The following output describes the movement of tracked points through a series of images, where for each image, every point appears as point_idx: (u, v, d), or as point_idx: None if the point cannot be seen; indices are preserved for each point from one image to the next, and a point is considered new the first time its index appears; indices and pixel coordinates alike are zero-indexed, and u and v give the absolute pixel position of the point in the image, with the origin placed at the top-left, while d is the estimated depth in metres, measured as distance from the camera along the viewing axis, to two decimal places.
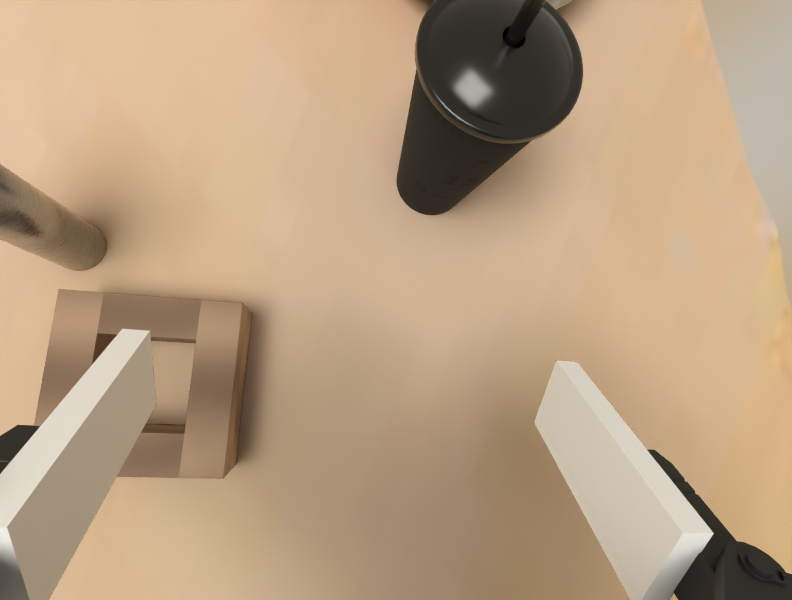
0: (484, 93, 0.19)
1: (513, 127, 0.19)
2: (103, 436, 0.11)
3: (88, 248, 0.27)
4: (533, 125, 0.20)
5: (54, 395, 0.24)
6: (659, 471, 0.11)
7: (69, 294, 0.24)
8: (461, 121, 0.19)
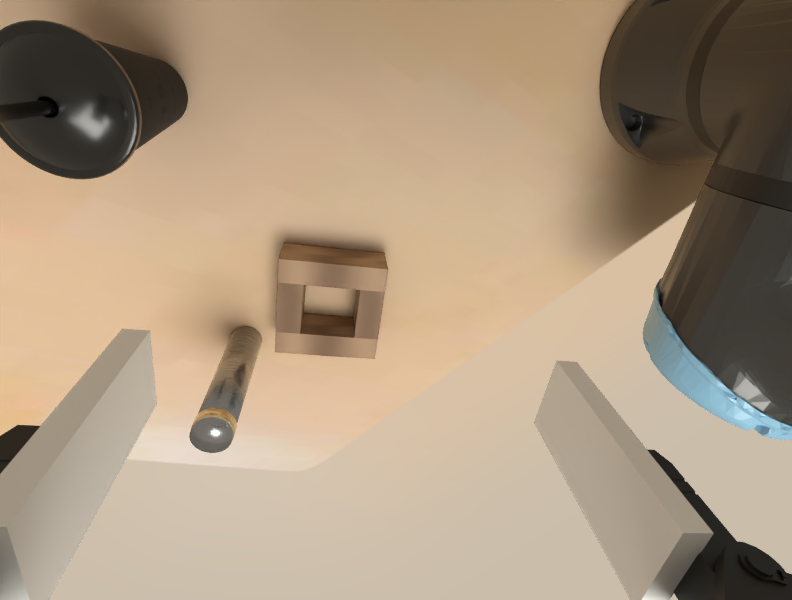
0: (105, 133, 0.24)
1: (127, 105, 0.24)
2: (103, 436, 0.11)
3: (248, 337, 0.44)
4: (120, 86, 0.24)
5: (334, 350, 0.44)
6: (659, 471, 0.11)
7: (277, 347, 0.43)
8: (131, 148, 0.25)
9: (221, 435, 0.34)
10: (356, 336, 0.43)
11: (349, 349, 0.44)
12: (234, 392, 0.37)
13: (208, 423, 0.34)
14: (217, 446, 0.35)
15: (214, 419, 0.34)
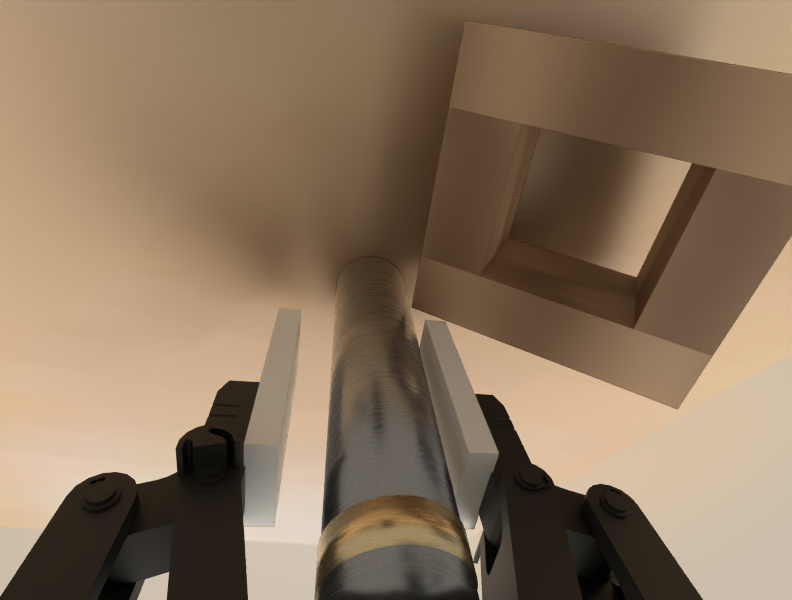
0: None
1: None
2: (290, 391, 0.14)
3: (389, 278, 0.18)
4: None
5: (562, 347, 0.15)
6: (475, 407, 0.13)
7: (419, 297, 0.17)
8: None
9: None
10: (642, 327, 0.14)
11: (606, 358, 0.15)
12: (428, 426, 0.11)
13: (404, 578, 0.08)
14: None
15: (424, 556, 0.08)
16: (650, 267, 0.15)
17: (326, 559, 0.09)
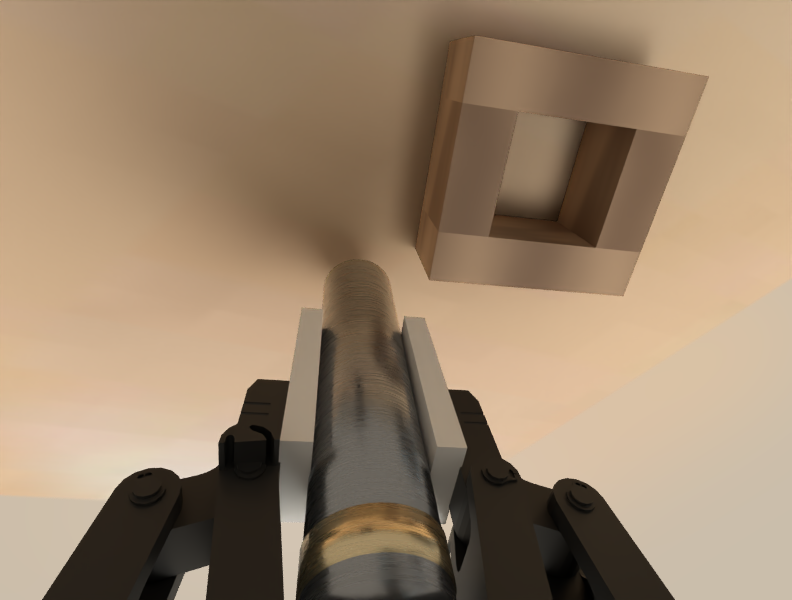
0: None
1: None
2: None
3: (377, 282, 0.18)
4: None
5: (550, 275, 0.21)
6: (447, 402, 0.13)
7: (437, 268, 0.20)
8: None
9: None
10: (601, 244, 0.20)
11: (580, 274, 0.21)
12: (412, 433, 0.11)
13: (387, 585, 0.08)
14: None
15: (406, 564, 0.08)
16: (580, 207, 0.22)
17: (308, 564, 0.09)
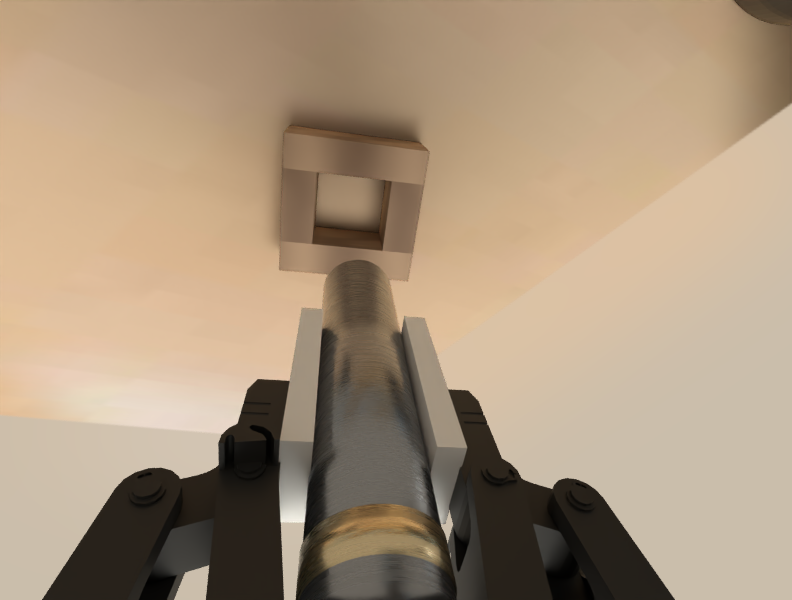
0: None
1: None
2: None
3: (377, 282, 0.18)
4: None
5: None
6: (447, 401, 0.13)
7: (282, 263, 0.33)
8: None
9: None
10: (385, 248, 0.33)
11: None
12: (412, 434, 0.11)
13: (387, 587, 0.08)
14: None
15: (406, 565, 0.08)
16: (382, 225, 0.35)
17: (308, 566, 0.09)
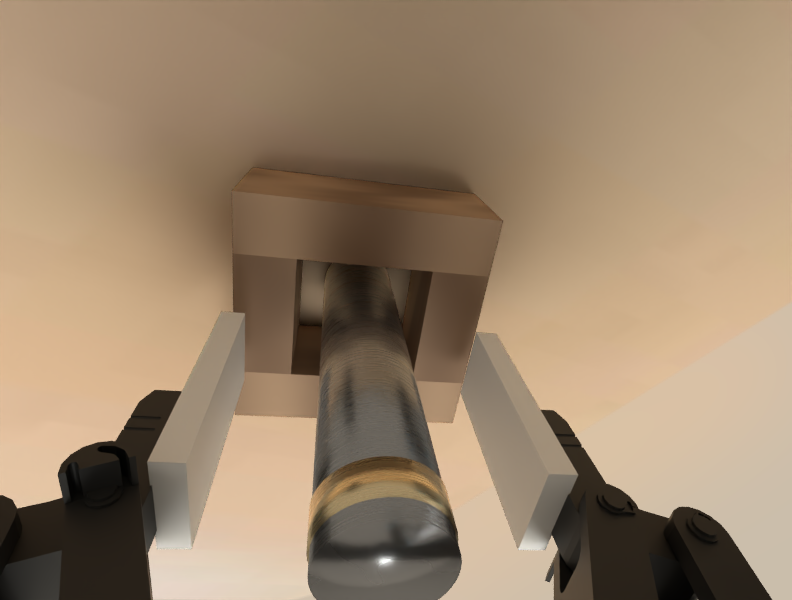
0: None
1: None
2: (223, 401, 0.13)
3: (376, 272, 0.19)
4: None
5: None
6: (544, 424, 0.12)
7: (240, 404, 0.19)
8: None
9: (426, 565, 0.09)
10: (417, 377, 0.19)
11: None
12: (413, 402, 0.12)
13: (393, 525, 0.08)
14: None
15: (411, 507, 0.09)
16: (409, 329, 0.21)
17: (319, 513, 0.09)
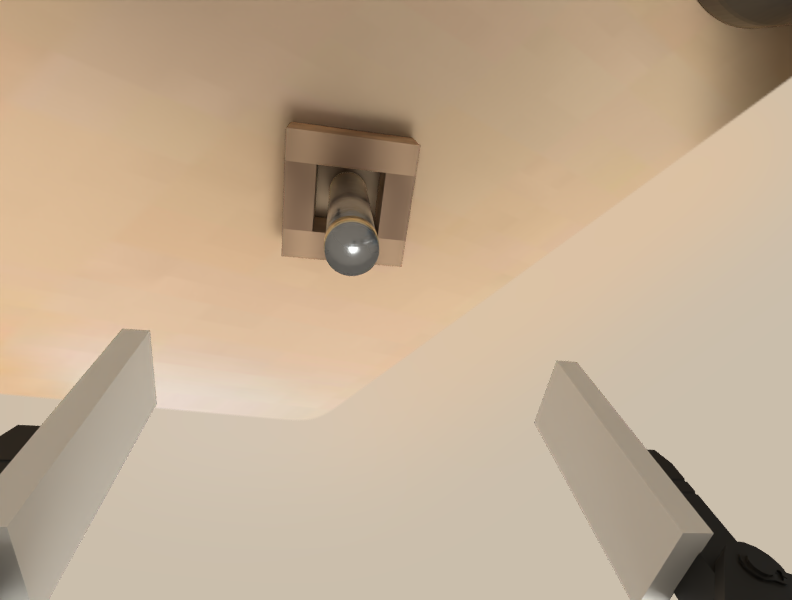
0: None
1: None
2: (103, 436, 0.11)
3: (357, 179, 0.36)
4: None
5: None
6: (659, 471, 0.11)
7: (285, 249, 0.35)
8: None
9: (366, 248, 0.25)
10: (380, 236, 0.36)
11: None
12: (368, 212, 0.28)
13: (353, 227, 0.25)
14: (357, 266, 0.26)
15: (360, 224, 0.25)
16: (377, 214, 0.37)
17: (328, 231, 0.26)
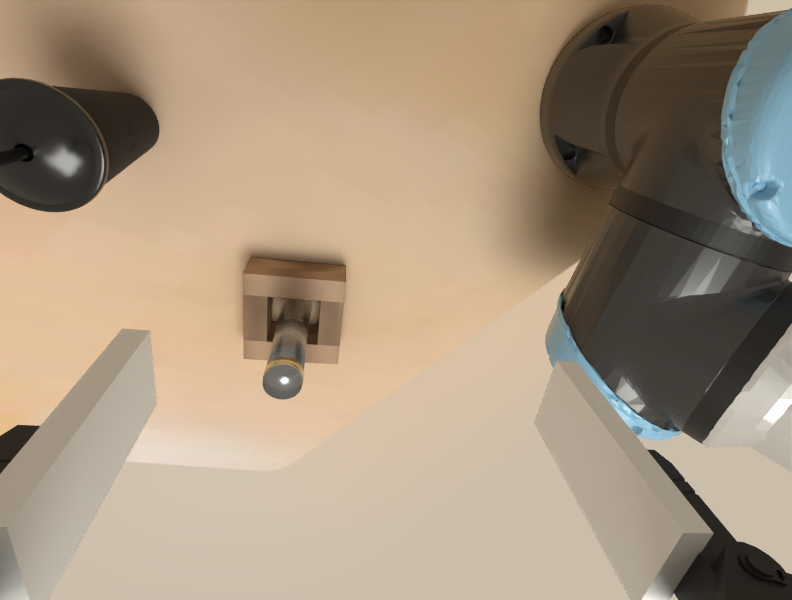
0: (75, 174, 0.28)
1: (94, 149, 0.28)
2: (103, 436, 0.11)
3: (302, 300, 0.46)
4: (88, 133, 0.27)
5: None
6: (659, 471, 0.11)
7: (246, 354, 0.46)
8: (100, 185, 0.29)
9: (292, 382, 0.36)
10: (319, 343, 0.46)
11: (313, 355, 0.47)
12: (299, 346, 0.39)
13: (282, 369, 0.36)
14: (287, 393, 0.37)
15: (287, 366, 0.36)
16: None
17: (266, 370, 0.36)
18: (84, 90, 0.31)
